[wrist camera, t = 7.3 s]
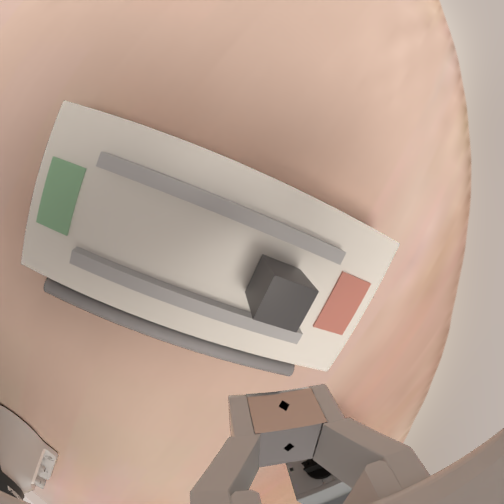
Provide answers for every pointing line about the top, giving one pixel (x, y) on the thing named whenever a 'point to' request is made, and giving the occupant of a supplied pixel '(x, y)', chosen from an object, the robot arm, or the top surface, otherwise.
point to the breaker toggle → (279, 294)
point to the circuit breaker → (316, 483)
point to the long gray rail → (165, 331)
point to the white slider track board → (193, 237)
